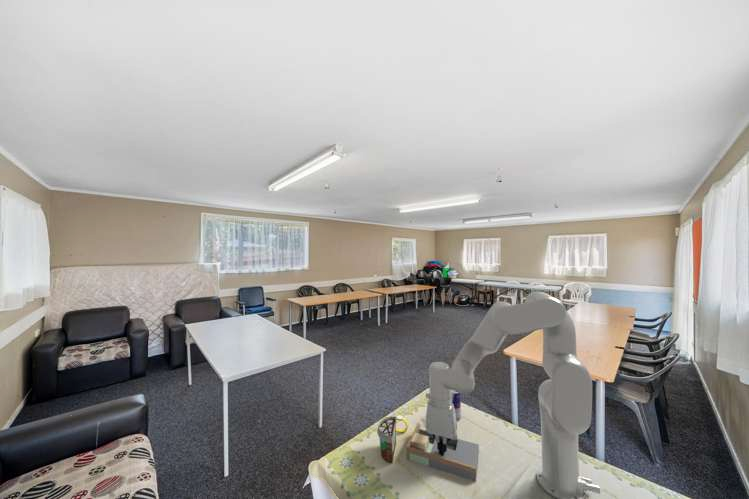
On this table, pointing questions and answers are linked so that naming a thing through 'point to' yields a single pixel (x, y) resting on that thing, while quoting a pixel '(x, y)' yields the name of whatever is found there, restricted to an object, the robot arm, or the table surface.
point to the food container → (387, 438)
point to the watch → (401, 420)
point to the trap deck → (447, 456)
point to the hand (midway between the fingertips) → (442, 452)
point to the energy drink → (456, 404)
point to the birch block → (420, 442)
